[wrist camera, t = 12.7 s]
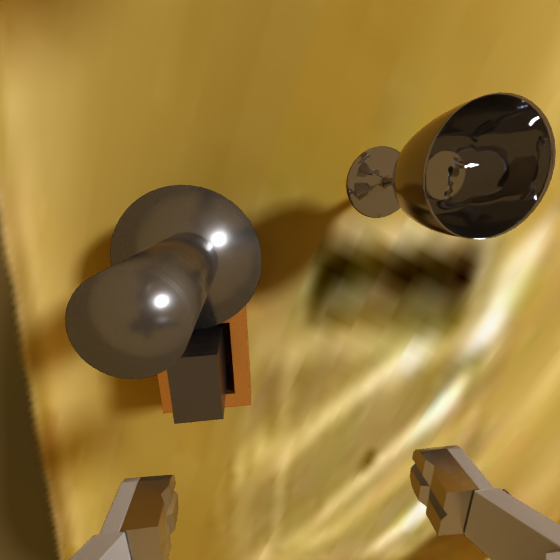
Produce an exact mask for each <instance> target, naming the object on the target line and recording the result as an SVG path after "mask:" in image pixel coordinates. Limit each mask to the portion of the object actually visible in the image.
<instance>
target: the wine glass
mask: <svg viewBox="0 0 560 560" xmlns="http://www.w3.org/2000/svg"><path fill="white" fill-rule="evenodd" d="M555 153H556V152H555V140H554V136H553V132H552V128H551V126H550V124H549V122H548V120H547V118H546V116H545V115H544V114H543V112H542V111H541V109H540V108H539V107H537V106H536V105H535V104H534V103H533V102H532V101H530V100H528V99H526V98H524V97H523V96H520V95H516V94H512V93H493V94H487V95H484V96H481V97H479V98H476V99H473V100H471V101H468V102H466V103H463V104H461V105H459V106H457V107H455V108H453V109H451V110H449V111H447V112H445V113H443V114H442V115H440V116H438V117H437V118H435V119H434V120H432V121H431V122H429V123H428V124H427V125H425V126H424V127H423V128H422V129H421V130H419V131H418V132H417V133H416V134H415V135H414V136H413V137H412V138H411V139H410V140H409V141H408V142H407V143H406V145H405V146H404V148H403V149H402V151H401V152H399V151H397V150H395V149H393V148H390V147H386V146H379V147H374V148H371V149H369V150H367V151H365V152H363V153H362V154H361V155H360V156H359V157H358V158H357V159H356V160H355V161H354V163H353V165H352V166H351V168H350V171H349V174H348V178H347V192H348V196H349V199H350V201H351V203H352V204H353V206H354V207H355V208H356V209H357V210H358V211H359V212H360V213H362V214H364V215H366V216H369V217H374V218H380V217H385V216H388V215H391V214H392V213H394V212H396V211H397V210H398V209H399V208H401V209H402V210H403V212H404V213H405V214H406V215H407V216H408V217H410V218H411V219H413V220H414V221H416V222H417V223H419V224H420V225H422V226H425V227H427V228H429V229H431V230H434V231H436V232H439V233H443V234H447V235H451V236H457V237H462V238H468V239H487V238H492V237H496V236H499V235H502V234H504V233H506V232H508V231H510V230H512V229H514V228H515V227H517V226H518V225H519V224H520V223H522V222H523V221H524V220H525V219H526V218H527V217H528V216H529V215H530V214H531V213H532V212H533V211H534V210H535V208H536V207H537V206H538V204H539V203H540V202H541V200H542V198H543V196H544V195H545V193H546V191H547V189H548V186H549V183H550V181H551V178H552V174H553V170H554V165H555Z"/></svg>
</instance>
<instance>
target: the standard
mask: <svg viewBox="0 0 560 560" xmlns="http://www.w3.org/2000/svg"><path fill="white" fill-rule="evenodd" d="M110 258H111V266H112V267H110V268H108V269H106V270H104V271H102V272H100V273H98V274H96V275H94V276H92V277H90V278H88V279H87V280H86V281H84V282H83V283H82V284H81V285H80V286H79V287H78V288H77V289H76V290H75V292H74V293H73V294H72V296H71V298H70V300H69V302H68V305H67V309H66V315H65V325H66V331H67V334H68V338H69V340H70V342H71V344H72V346H73V347H74V349H75V351H76V352H77V353H78V354H79V356H80V357H81V358H82V359H83V360H84V361H86V362H87V363H88V364H89V365H91V366H92V367H93V368H95V369H97V370H99V371H100V372H103V373H105V374H107V375H111V376H114V377H118V378H124V379H141V378H147V377H151V376H154V375H158V382H159V388H160V395H161V401H162V408H163V413H173V410H172V403H171V396H170V389H169V382H168V375H167V369H168V368H170V367H171V366H173V365H174V364H175V363H176V362H177V361H178V360H179V358H180V357H181V356H182V354H183V353H184V351H185V349H186V347H187V345H188V342H189V340H190V337H191V335H192V332H193V330H196V329H204V328H208V327H212V326H215V325H218V324H220V323H230V335H231V348H232V361H233V365H229V368H228V377H227V387H226V397H225V407H236V406H246V405H251V382H250V362H249V346H248V330H247V314H246V304H247V303H248V302H249V300H250V299H251V297H252V295H253V294H254V292H255V290H256V287H257V285H258V282H259V279H260V274H261V268H262V256H261V248H260V244H259V240H258V237H257V234H256V232H255V229H254V228H253V226H252V224H251V222H250V221H249V219H248V218H247V217H246V215H245V214H244V213H243V212H242V211H241V210H240V208H239V207H238V206H236V205H235V204H234V203H233V202H232V201H230V200H229V199H227V198H226V197H224V196H222V195H221V194H218V193H216V192H214V191H212V190H209V189H205V188H202V187H197V186H191V185H174V186H167V187H163V188H159V189H156V190H153V191H151V192H149V193H147V194H145V195H143V196H142V197H140V198H139V199H137V200H136V201H135V202H134V203H132V204H131V205H130V206H129V207H128V208H127V210H126V211H125V212H124V213H123V215H122V216H121V218H120V219H119V221H118V223H117V225H116V227H115V230H114V233H113V236H112V241H111V250H110ZM225 407H224V408H225Z"/></svg>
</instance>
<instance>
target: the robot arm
mask: <svg viewBox="0 0 560 560" xmlns="http://www.w3.org/2000/svg"><path fill="white" fill-rule="evenodd" d="M412 459H413V460H414V462H415V464H414V465H413V466H412V468H411V471H410V479H411V484H412V487H413V490H414V493H415V495H416V496H417V498H418V500H419V501H420V502H422V503H423V504H424V505H425V506H427V509H426V515H427V517H428V518H429V520H430V522H431V524H432V526H433V527H434V529H435V531H436V533H437V535H438V536H442V535H453V534H463V533H464V536H466V537H467V538H468V539H469V540H470V541H471V542H472V543H473V544H475V545H476V546H477V547H478V548H479V549H480V550H481V551H482V552H483V553H485V554H486V555H487V556H488V557H489V558H490V559H491V560H560V525H559V524H557V523H555V522H554V521H552V520H551V519H549V518H547V517H546V516H544V515H542V514H541V513H539V512H537V511H536V510H534V509H532V508H531V507H529V506H528V505H526V504H524V503H523V502H521V501H519V500H518V499H516V498H514V497H513V496H511V495H510V494H508V493H506V492H505V491H503V490H501V489H500V488H494V487H493V486H492V485H491V484H490V482H489V481H488V480H487V479H486V478H485V476H484V475H483V474H482V473H481V472H480V470H479V469H478V468H477V467H476V466H475V464H474V463H473V462H472V461H471V459H470V458H469V457H468V456H467V455H466V453H465V452H464V451H463V450H462V449H461V448H460V447H459V446H457V445H455V446H445V447H434V448H426V449H417V450H415V451H414V452H413V457H412ZM175 484H176V482H175V476H174V475H164V476H150V477H139V478H127V479H124V480H123V482H122V483H121V485H120V487H119V489H118V492H117V494H116V496H115V499H114V501H113V503H112V506H111V508H110V510H109V513H108V515H107V517H106V520H105V522H104V524H103V527H102V529H101V531H100V534H99V535H94V536H93V537H92V538H91V539H90V540H89V541H88V542H87V543H86V544H85V545H84V546H83V547H82V548H81V549H80V550H79V551H78V552H77V553H76V554H75V555H74V556H73V557H72V558H71V559H70V560H169V556H170V551H171V546H172V544H171V538H170V535H171V533H172V532H173V531H174V530H175V527H176V522H177V515H178V495H177V493H176V492H175V491H174V488H175Z"/></svg>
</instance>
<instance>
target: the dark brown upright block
mask: <svg viewBox="0 0 560 560" xmlns="http://www.w3.org/2000/svg"><path fill="white" fill-rule="evenodd" d="M228 368H229V347H228V335H227V323H220V324H218V325H215V326H212V327H208V328H204V329H196V330H193V332H192V335H191V337H190V340H189V342H188V345H187V347H186V349H185V351H184V353H183V354H182V356H181V357H180V358H179V360H178V361H177V362H176V363H175V364H174V365H173V366H171V367H170V368H168V369H167V375H168V382H169V389H170V396H171V403H172V410H173V417H174V424H177V423H187V422H196V421H206V420H216V419H223V417H224V407H225V397H226V387H227V377H228Z"/></svg>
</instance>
